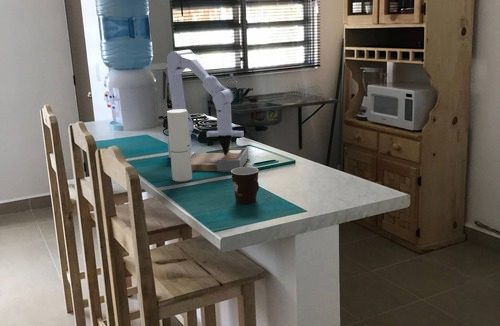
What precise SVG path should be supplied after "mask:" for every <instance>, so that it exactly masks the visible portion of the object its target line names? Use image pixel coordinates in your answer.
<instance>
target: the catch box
mask: <svg viewBox="0 0 500 326" xmlns="http://www.w3.org/2000/svg"><path fill="white" fill-rule="evenodd" d="M229 150H242V154H241V156H240V157H239V159H238V160H224V158H223V160H221V159H217V171H216V172H224V173H225V172H230V173H231V170H232V169H235V168H239V167H244V166H245V165H246V163H247V162H246V161H248V160H249V159H248V158H249V147H229ZM229 150H228V151H229ZM247 159H248V160H247ZM245 162H246V163H245ZM244 164H245V165H244ZM243 165H244V166H243Z"/></svg>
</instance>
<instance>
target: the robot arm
mask: <svg viewBox="0 0 500 326" xmlns="http://www.w3.org/2000/svg"><path fill="white" fill-rule="evenodd" d="M166 62H167V70H166V71H167V78H168V87H169V93H170V100H171V107H172V110H175V109H185V110H187V107H186V105H187V104H186V100H185V92H184V86H183V85H184V84H183V76H182V73H183V72H184V71H185V70H186V69H187V70H188V69H189V70H190V71H191V72H192V73H194V75H195V76H197V77H198V79H199V80H201V82H202V87H203V88H204V89H205V90H206V92H208V94H210V96H211V97H212V102H213V104H214V107H215V110H216V124H217V125H216V126H217V127H216V128H217V130H208V131H206V138H210V137H218V138H217V140H218V143H219V144H220V146H221V148H222V151H223V152H222V153H224V155H227V153H228V150H229V148H230V145H231V143H232V141H233V140H232V139H233V137H240V138H244V135H245V134H244V130H233V123H232V122H233V121H232V104H231V103H232V102H233V101H234V99H235V98H234V93H233V91H232V90H231V89H230V88H227V87H225V86H224V85H222V83H220V82H219V80H218V78H217V76H215V75H209V74H208V72H207V71H206V70H205V69H204V67H203V66H202V64H201V63H200V62H199V61H198V59H197V55H196V54H195V53H194V52H193V51H192V50H191V49H183V50H172V51H170V52H169V53H168V55H167V57H166ZM187 113H188V127H189V140H190V154H191V157H192V156H193V155H194V154H195V153H196V152H195V151H193V150H192V138H191V135H192V132H193V130H194V128H195V125H194V124H195V123H194V122H193V119H192V117H191V116H192V115H191V114H190V113H189V112H188V111H187ZM167 149H168V150H167V151H168V157H167V158H170V159H171V154H170V142H169V136H168V137H167Z"/></svg>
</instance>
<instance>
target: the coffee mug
mask: <svg viewBox="0 0 500 326" xmlns="http://www.w3.org/2000/svg"><path fill="white" fill-rule="evenodd" d="M259 172H260V171H259V169H258V168H257V167H253V166H243V167H239V168H235V169H232V170H231V172H230V174H231V180H232V186H233V191H234V198H235V202H236V204H239V205H252V204H254V203H256V202H257V196H258V195H257V194H258V192H259V190H260V184H259Z"/></svg>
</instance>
